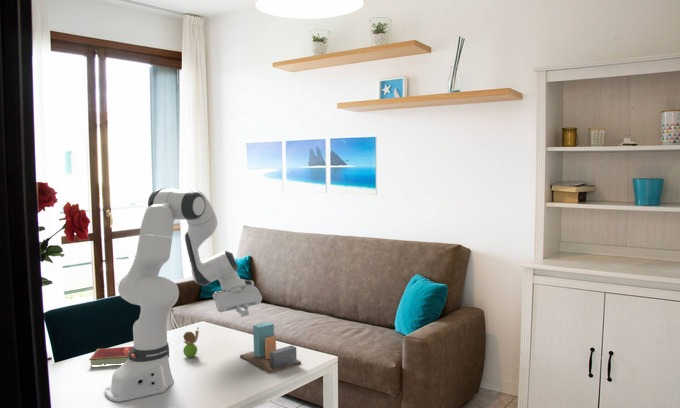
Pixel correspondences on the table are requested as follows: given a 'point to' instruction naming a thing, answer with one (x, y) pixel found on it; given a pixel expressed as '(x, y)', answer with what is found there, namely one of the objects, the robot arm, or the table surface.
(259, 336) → the teal upright block
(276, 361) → the grey lying block
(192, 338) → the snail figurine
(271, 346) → the orange flat block
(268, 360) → the brown wooden base board
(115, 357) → the hardcover book
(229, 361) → the table surface
